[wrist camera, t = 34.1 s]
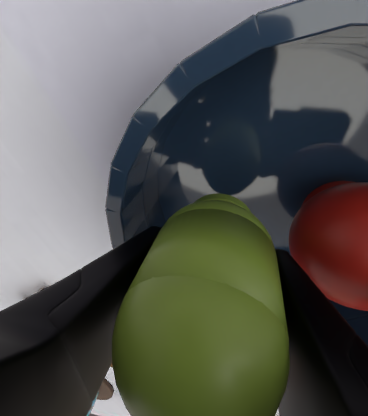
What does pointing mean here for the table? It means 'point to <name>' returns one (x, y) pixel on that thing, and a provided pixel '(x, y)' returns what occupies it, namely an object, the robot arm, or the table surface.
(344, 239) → the apple
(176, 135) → the bowl
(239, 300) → the pear
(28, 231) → the table surface
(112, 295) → the robot arm
